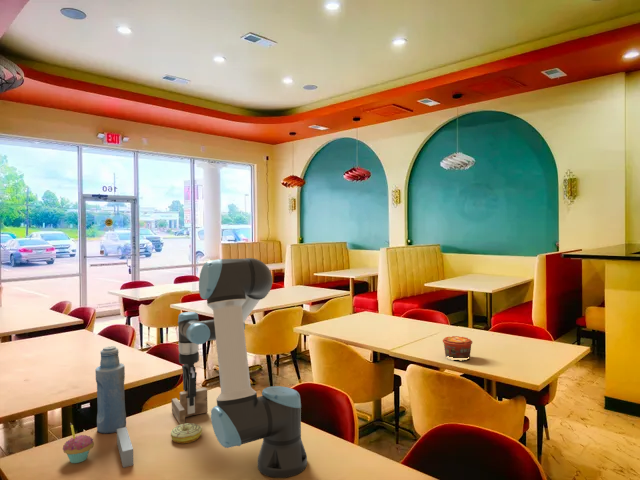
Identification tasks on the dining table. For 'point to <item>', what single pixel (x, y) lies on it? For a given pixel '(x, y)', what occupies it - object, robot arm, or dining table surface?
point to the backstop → (125, 447)
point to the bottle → (110, 392)
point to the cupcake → (78, 447)
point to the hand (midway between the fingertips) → (190, 411)
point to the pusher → (181, 407)
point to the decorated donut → (186, 433)
